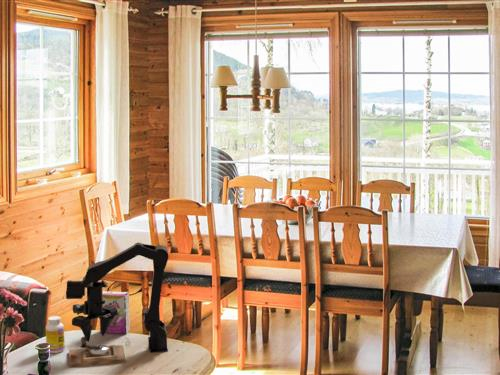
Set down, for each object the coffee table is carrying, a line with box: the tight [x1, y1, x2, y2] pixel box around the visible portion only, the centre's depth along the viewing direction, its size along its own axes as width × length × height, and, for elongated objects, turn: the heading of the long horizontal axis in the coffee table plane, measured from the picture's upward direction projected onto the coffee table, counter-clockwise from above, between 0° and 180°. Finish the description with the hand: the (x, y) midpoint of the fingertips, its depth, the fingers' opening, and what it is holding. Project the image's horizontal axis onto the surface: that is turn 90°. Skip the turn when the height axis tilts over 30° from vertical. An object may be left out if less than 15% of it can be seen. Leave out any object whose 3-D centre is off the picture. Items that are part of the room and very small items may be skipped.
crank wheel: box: [80, 336, 109, 357], centre depth 285 cm, size 10×7×6 cm, turn 80°
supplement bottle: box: [45, 315, 66, 354], centre depth 292 cm, size 7×7×13 cm
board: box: [68, 344, 126, 368], centre depth 286 cm, size 20×15×2 cm
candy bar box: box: [99, 290, 131, 335], centre depth 312 cm, size 11×5×16 cm, turn 82°
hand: (95, 338), depth 290 cm, fingers open, 8 cm apart
